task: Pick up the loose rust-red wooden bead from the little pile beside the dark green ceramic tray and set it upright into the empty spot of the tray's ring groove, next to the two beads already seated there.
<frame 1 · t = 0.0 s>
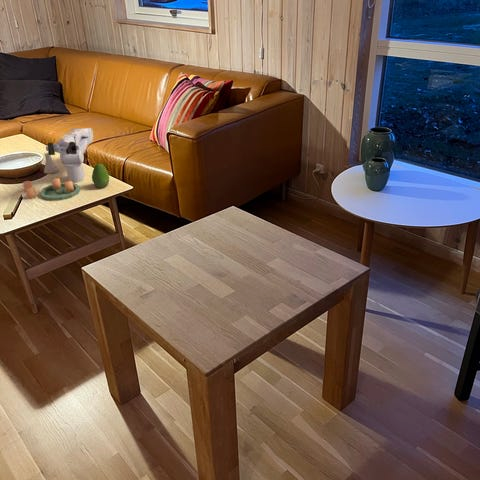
hand: (58, 152, 203), 22 cm above the table, tool horizontal, fingers open, 7 cm apart
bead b: (57, 189, 220), point 1 cm above the table, touching tray
avocado: (102, 188, 224), on the table
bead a: (70, 192, 217), point 1 cm above the table, touching tray
bead c: (32, 198, 213), on the table
tray: (60, 194, 217), on the table
flask: (51, 172, 243), on the table
bead d: (29, 192, 220), on the table
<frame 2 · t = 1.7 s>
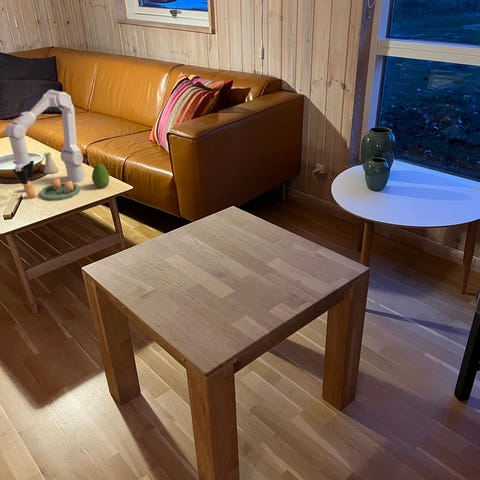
hand: (27, 180, 209), 9 cm above the table, tool pointing down, fingers open, 7 cm apart
nothing on the table moved.
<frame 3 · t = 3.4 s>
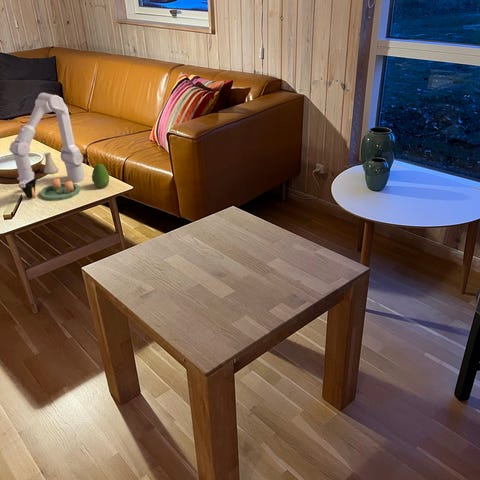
hand: (31, 196, 212), 1 cm above the table, tool pointing down, fingers closed on bead c, 4 cm apart
bead c: (32, 198, 213), on the table, touching gripper
everything else where it was.
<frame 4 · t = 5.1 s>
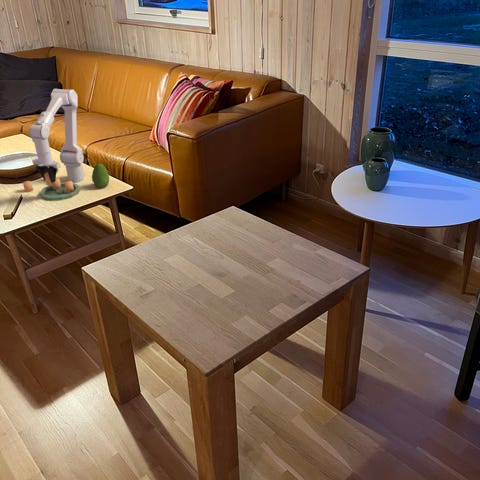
hand: (50, 181, 210), 8 cm above the table, tool pointing down, fingers closed on bead c, 4 cm apart
bead c: (50, 184, 210), point 7 cm above the table, touching gripper
everything else where it was.
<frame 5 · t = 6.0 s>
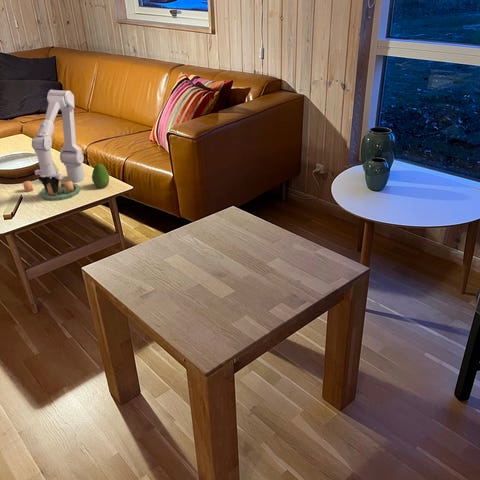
hand: (52, 191, 212), 3 cm above the table, tool pointing down, fingers closed on bead c, 4 cm apart
bead c: (52, 194, 213), point 2 cm above the table, touching gripper
everything else where it was.
when the fingers open (3 cm above the table, at t = 6.8 s): bead c stays where it is, resting on tray.
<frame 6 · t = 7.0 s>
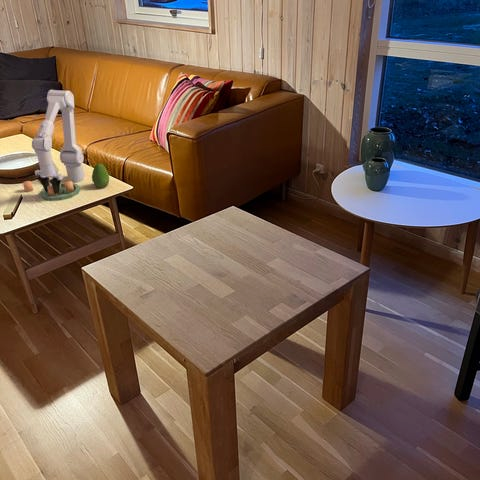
hand: (52, 191, 212), 3 cm above the table, tool pointing down, fingers open, 5 cm apart
bead c: (53, 196, 213), point 1 cm above the table, touching tray
everything else where it was.
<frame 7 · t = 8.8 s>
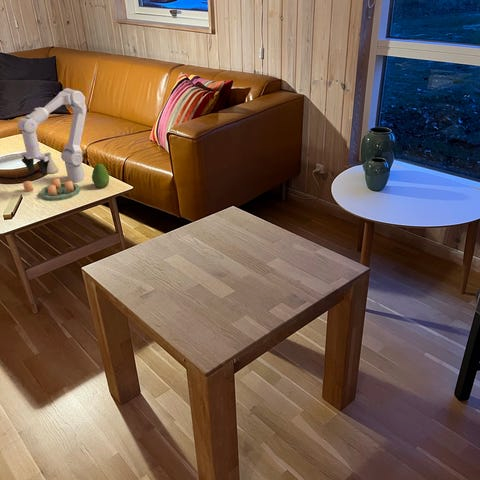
hand: (38, 173, 215), 9 cm above the table, tool pointing down, fingers open, 7 cm apart
nothing on the table moved.
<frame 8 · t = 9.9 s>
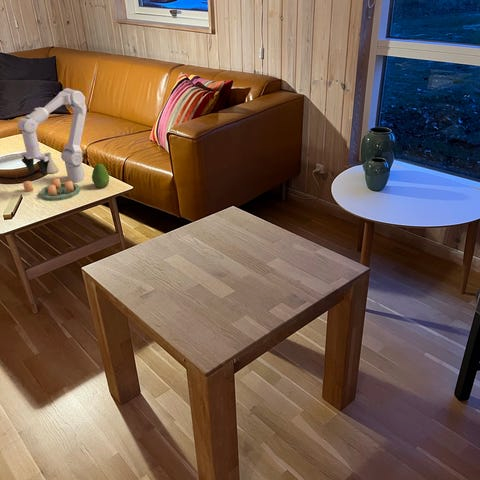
hand: (38, 173, 215), 9 cm above the table, tool pointing down, fingers open, 7 cm apart
nothing on the table moved.
at the end: bead c 0.0 cm from the target spot on the tray, point 0.8 cm above the tray's base; bead c tilted 0°; the gripper is holding nothing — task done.
